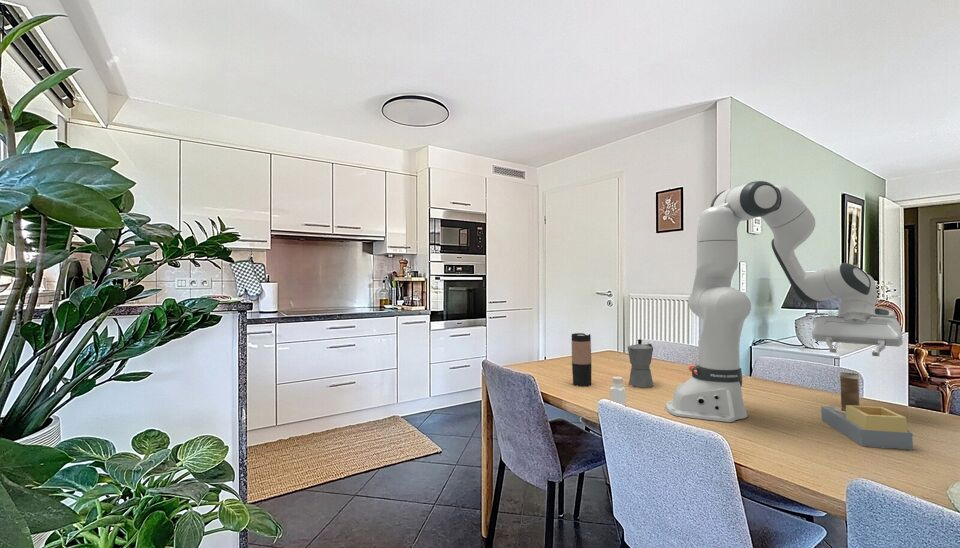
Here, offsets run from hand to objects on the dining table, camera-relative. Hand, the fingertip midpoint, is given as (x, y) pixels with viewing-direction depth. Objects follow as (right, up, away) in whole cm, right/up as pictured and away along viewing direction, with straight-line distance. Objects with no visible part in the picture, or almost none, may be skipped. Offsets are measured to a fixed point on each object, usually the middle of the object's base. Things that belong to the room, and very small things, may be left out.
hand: (853, 353), depth 123 cm
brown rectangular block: (-7, -15, -6) cm, 17 cm away
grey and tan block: (-8, -19, -12) cm, 24 cm away
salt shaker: (-63, -21, +16) cm, 69 cm away
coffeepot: (-45, -21, +44) cm, 66 cm away
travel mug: (-68, -21, +47) cm, 85 cm away
